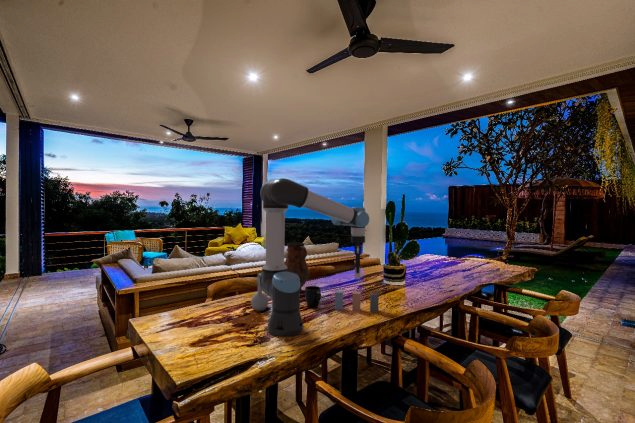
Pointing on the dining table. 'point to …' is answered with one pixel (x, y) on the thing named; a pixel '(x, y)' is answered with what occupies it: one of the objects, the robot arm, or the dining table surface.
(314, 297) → the mug
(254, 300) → the potion bottle
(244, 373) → the dining table surface
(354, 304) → the terracotta block
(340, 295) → the slate block
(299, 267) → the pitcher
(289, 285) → the robot arm
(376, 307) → the charcoal block
